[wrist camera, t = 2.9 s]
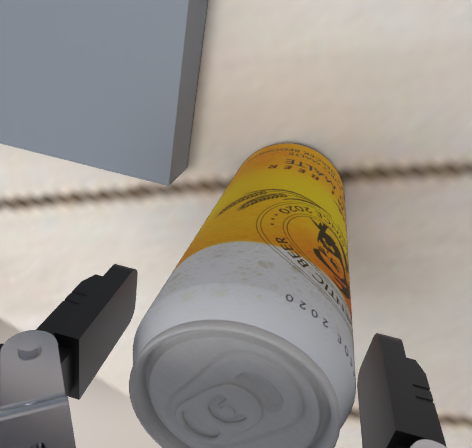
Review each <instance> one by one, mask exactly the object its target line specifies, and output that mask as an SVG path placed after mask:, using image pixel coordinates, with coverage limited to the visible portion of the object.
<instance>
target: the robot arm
mask: <svg viewBox="0 0 472 448" xmlns="http://www.w3.org/2000/svg"><path fill="white" fill-rule="evenodd" d="M136 288H137V270H136V269H132V268H128V267H124V266H121V265H117V264H114V265H113V266H112V267H111V268H110V269H109V270H108V271H107V273H106V274H105V275H104V276H99V275H94V276H92V277H90V278H88V279H86V280H84V281H82V282H81V283H80V284H79V285H78V286H77V287H76V288H75V289H74V290H73V291H72V293H70V294H69V295H68V296H67V297H66V298H65V301H63V302H62V303H61V304H60V305H59V306H58V307H57V308H56V309H55V310H54V311H53V312H52V313H51V314H50V315H49V316H48V317H47V319H46V320H45V321H44V322H43V323H42V324H41V325H40V326H39V327H38V328H37V329H36V330H30V331H25V332H21V333H18V334H16V335H14V336H13V337H11V338H10V339H8V340H7V341H6V342H5V344H0V448H76V446H75V439H74V433H73V426H72V420H71V413H70V408H69V401H68V397H67V396H69V397H72V398H75V399H80V398H81V396H82V395H83V393H84V392H85V390H86V389H87V387H88V386H89V384H90V383H91V381H92V380H93V378H94V377H95V375H96V374H97V372H98V370H99V369H100V367H101V366H102V364H103V363H104V361H105V360H106V358H107V357H108V355H109V354H110V352H111V351H112V349H113V348H114V346H115V345H116V343H117V342H118V340H119V338H120V337H121V335H122V334H123V332H124V331H125V329H126V328H127V326H128V325H129V323H130V321H131V319H132V316H133V313H134V309H135V301H136ZM357 388H358V400H359V411H360V422H361V434H362V445H363V448H447V447H446V443H445V440H444V436H443V433H442V429H441V426H440V422H439V419H438V415H437V412H436V408H435V405H434V403H433V398H432V394H431V391H429V390H430V387H429V384H428V380H427V377H426V374H425V373H424V371H423V370H422V368H421V367H420V366H419V364H418V363H417V362H416V360H413V359H410V358H406V355H405V351H404V347H403V343H402V340H401V339H398V338H394V337H390V336H386V335H382V334H378V333H376V334H375V335H374V337H373V339H372V342H371V344H370V346H369V349H368V351H367V353H366V356H365V358H364V360H363V363H362V365H361V368H360V371H359V375H358V383H357Z"/></svg>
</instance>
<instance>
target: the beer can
mask: <svg viewBox="0 0 472 448" xmlns="http://www.w3.org/2000/svg"><path fill="white" fill-rule="evenodd" d="M129 393H130V399H131V403H132V406H133V409H134V411H135V413H136V416H137V418H138V419H139V421H140V422H141V424H142V426H143V427H144V429H145V430H146V431H147V433H148V434H149V435H150V436H151V437H152V438H153V439H154V440H155V441H156V442H157V443H158V444H159V445H160V446H161V447H162V448H334V447H335V445H336V442H337V439H338V437H339V431H340V429H341V427H342V426H343V424H344V422H345V421H346V419H347V417H348V416H349V414H350V412H351V409H352V406H353V404H354V399H355V393H356V378H355V361H354V345H353V329H352V312H351V296H350V279H349V263H348V246H347V230H346V213H345V197H344V188H343V184H342V180H341V178H340V176H339V174H338V172H337V170H336V169H335V167H334V166H333V165H332V163H331V162H330V161H329V160H328V159H327V158H325V157H324V156H323V155H322V154H320V153H318V152H317V151H315V150H313V149H311V148H308V147H306V146H302V145H298V144H291V143H283V144H275V145H271V146H268V147H265V148H263V149H261V150H259V151H257V152H255V153H254V154H252V155H251V156H250V157H249V158H248V159H247V160H246V161H245V162H244V163H243V164H242V166H241V167H240V168H239V170H238V172H237V173H236V175H235V176H234V178H233V179H232V181H231V182H230V184H229V186H228V187H227V189H226V190H225V192H224V193H223V195H222V196H221V198H220V200H219V201H218V203H217V204H216V206H215V207H214V209H213V210H212V212H211V213H210V215H209V217H208V218H207V220H206V221H205V223H204V224H203V226H202V227H201V229H200V231H199V232H198V234H197V235H196V237H195V238H194V240H193V241H192V243H191V245H190V246H189V248H188V249H187V251H186V252H185V254H184V255H183V257H182V259H181V260H180V262H179V263H178V265H177V266H176V268H175V269H174V271H173V272H172V274H171V276H170V277H169V279H168V280H167V282H166V283H165V285H164V286H163V288H162V290H161V291H160V293H159V294H158V296H157V297H156V299H155V300H154V302H153V304H152V305H151V307H150V308H149V310H148V311H147V313H146V314H145V316H144V317H143V319H142V321H141V323H140V325H139V327H138V329H137V331H136V335H135V338H134V344H133V367H132V370H131V374H130V380H129Z"/></svg>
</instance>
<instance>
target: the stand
mask: <svg viewBox="0 0 472 448" xmlns="http://www.w3.org/2000/svg"><path fill="white" fill-rule="evenodd" d="M207 6H208V0H0V143H1V144H5V145H9V146H13V147H17V148H21V149H25V150H29V151H33V152H37V153H41V154H45V155H48V156H52V157H56V158H60V159H64V160H68V161H72V162H76V163H80V164H84V165H88V166H92V167H96V168H100V169H104V170H108V171H112V172H116V173H120V174H124V175H128V176H132V177H135V178H139V179H143V180H147V181H151V182H155V183H159V184H163V185H167V186H169V185H170V184H171V183H172V182H173V181H174V180H175V179H176V178H177V177H178V176H179V175H180V174H181V173H182V172H183V171H184V170H185V169H186V168H187V162H188V154H189V147H190V139H191V131H192V123H193V115H194V108H195V100H196V92H197V84H198V76H199V68H200V61H201V53H202V45H203V37H204V29H205V22H206V14H207Z"/></svg>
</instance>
